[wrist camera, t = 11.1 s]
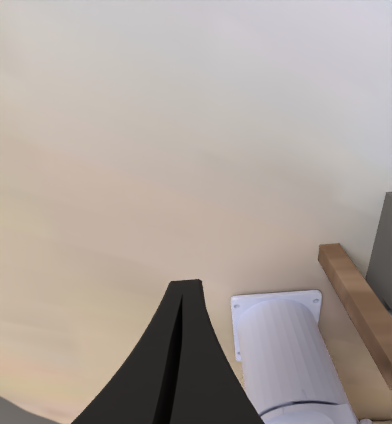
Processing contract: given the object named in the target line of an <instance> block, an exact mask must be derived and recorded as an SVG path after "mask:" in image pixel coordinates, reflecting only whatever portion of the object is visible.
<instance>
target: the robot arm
mask: <svg viewBox="0 0 392 424" xmlns="http://www.w3.org/2000/svg"><path fill="white" fill-rule="evenodd" d="M314 299H315V300H314ZM321 300H322V294H321V292H320V291H319V290H308V291H293V292H279V293H265V294H251V295H237V296H233V297H232V298H231V310H232V322H233V333H234V344H235V356H236V360H237V361H240V362H242V370H243V378H244V386H245V391H244V390H243V388H242V386H241V384H240V383H239V381H238V379H237V377H236V376H235V374H234V372H233V370H232V368H231V366H230V364H229V362H228V361H227V358H226V356H225V354H224V352H223V350H222V348H221V346H220V344H219V341H218V339H217V337H216V334H215V332H214V329H213V327H212V324H211V321H210V318H209V315H208V312H207V309H206V305H205V299H204V292H203V286H202V281H201V280H199V279H195V280H182V281H171V282H170V283H169V285H168V288H167V290H166V292H165V295H164V297H163V299H162V301H161V303H160V305H159V307H158V309H157V311H156V313H155V314H154V316H153V318H152V320H151V322H150V324H149V325H148V327H147V329H146V330H145V332H144V333H143V335H142V337H141V338H140V340H139V342H138V343H137V345H136V346H135V348H134V349H133V351H132V352H131V353H130V355H129V356H128V358H127V359H126V360H125V362H124V363H123V365H122V366H121V367H120V368H119V370H118V371H117V372H116V374H115V375H114V376H113V377H112V379H111V380H110V381H109V382H108V384H107V385H106V386H105V387H104V388H103V389H102V391H101V392H100V393H99V394H98V395H97V396H96V397H95V398H94V400H93V401H92V402H91V403H90V404H89V405H88V406H87V407H86V408H85V409H84V411H83V412H82V413H81V414H80V415H79V416H78V417H77V418H76V419H75V420H74V421H73V422H72V423H71V424H373V423H372V421H371V420H370V419H362V420H360V422H359V420H358V418H357V417H356V415H355V413H354V412H353V410H352V407H351V405H350V403H349V400H348V398H347V395H346V393H345V391H344V388H343V386H342V383H341V381H340V379H339V376H338V374H337V371H336V369H335V367H334V364H333V362H332V359H331V357H330V355H329V352H328V350H327V347H326V345H325V343H324V340H323V338H322V335H321V333H320V331H319V328H318V321H319V314H320V307H321ZM236 304H238V305H236Z"/></svg>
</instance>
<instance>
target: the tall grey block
mask: <svg viewBox="0 0 392 424" xmlns="http://www.w3.org/2000/svg"><path fill="white" fill-rule="evenodd" d="M365 281H366V282H367V283H368V285H369V286H370V288H371V289H372V290H373V292H374V293H375V295H376V296H377V297H378V299H379V300H380V302H381V303H382V304H383V306H384V307H385V309H386V310H388V309H391V310H392V192H386V196H385V200H384V204H383V208H382V212H381V217H380V221H379V225H378V229H377V233H376V238H375V242H374V246H373V250H372V254H371V258H370V263H369V267H368V271H367V275H366V279H365Z"/></svg>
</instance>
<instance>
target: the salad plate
mask: <svg viewBox="0 0 392 424" xmlns="http://www.w3.org/2000/svg"><path fill="white" fill-rule="evenodd" d="M372 423H373V424H392V421H372Z"/></svg>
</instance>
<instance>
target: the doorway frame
mask: <svg viewBox="0 0 392 424" xmlns="http://www.w3.org/2000/svg"><path fill="white" fill-rule="evenodd" d="M318 260H319V262H320V264H321V266H322V268H323V269H324V271H325V273H326V275H327V277H328V278H329V280H330V282H331V284H332V286H333V287H334V289H335V291H336V293H337V295H338V296H339V298H340V300H341V302H342V304H343V305H344V307H345V309H346V311H347V313H348V315H349V316H350V318H351V320H352V322H353V324H354V325H355V327H356V329H357V331H358V333H359V334H360V336H361V338H362V340H363V342H364V343H365V345H366V347H367V349H368V351H369V352H370V354H371V356H372V358H373V360H374V361H375V363H376V365H377V367H378V369H379V370H380V372H381V374H382V376H383V378H384V379H385V381H386V383H387V385H388V387H389V389H390V390H392V317H391V316H390V314H389V313H388V311H387V310H386V309H385V307H384V306H383V304H382V303H381V302H380V300H379V299H378V297H377V296H376V295H375V293H374V292H373V290H372V289H371V288H370V286H369V285H368V283H367V282H366V281H365V279H364V278H363V276H362V275H361V274H360V272H359V271H358V269H357V268H356V266H355V265H354V264H353V262H352V261H351V259H350V258H349V257H348V255H347V254H346V252H345V251H344V250H343V248H342V247H341V245H340V244H339V243H338V244H326V245H320V247H319V256H318Z"/></svg>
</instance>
